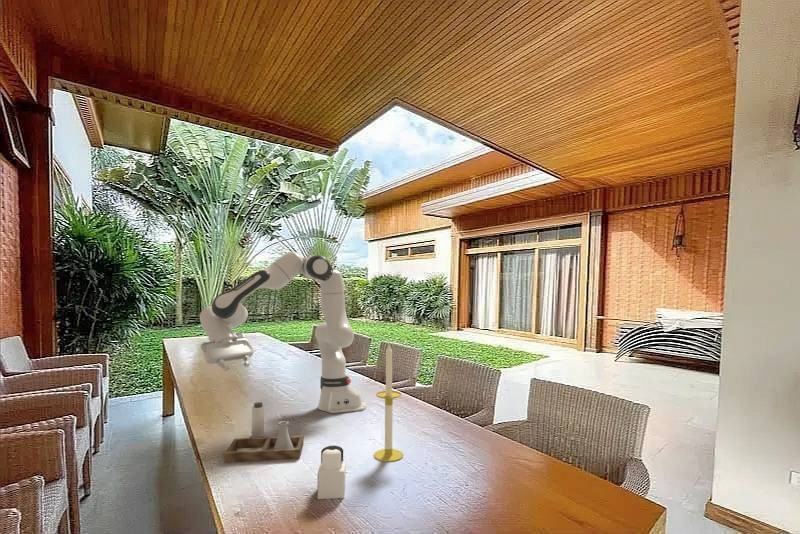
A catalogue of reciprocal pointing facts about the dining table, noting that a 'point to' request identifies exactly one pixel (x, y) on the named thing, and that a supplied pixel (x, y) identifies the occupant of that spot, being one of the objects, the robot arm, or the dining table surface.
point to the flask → (283, 437)
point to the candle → (388, 415)
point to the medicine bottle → (331, 473)
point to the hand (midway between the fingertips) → (237, 367)
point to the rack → (261, 450)
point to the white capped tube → (258, 420)
